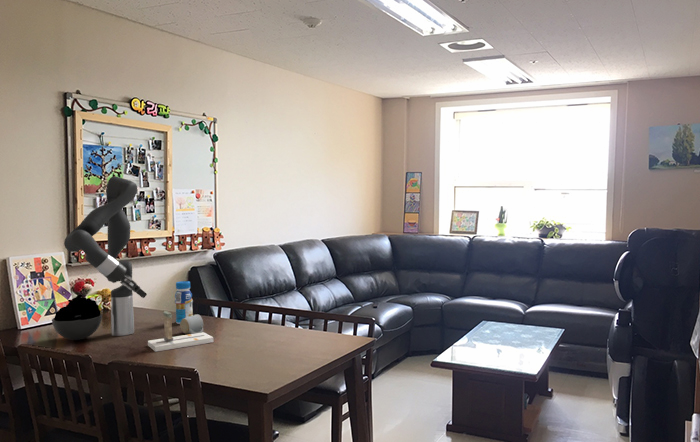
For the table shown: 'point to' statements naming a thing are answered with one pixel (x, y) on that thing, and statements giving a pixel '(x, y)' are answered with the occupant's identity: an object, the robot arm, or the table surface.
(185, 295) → the beverage bottle
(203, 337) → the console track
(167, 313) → the fader tab
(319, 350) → the table surface
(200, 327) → the ceramic mug
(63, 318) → the bowl of black rocks
